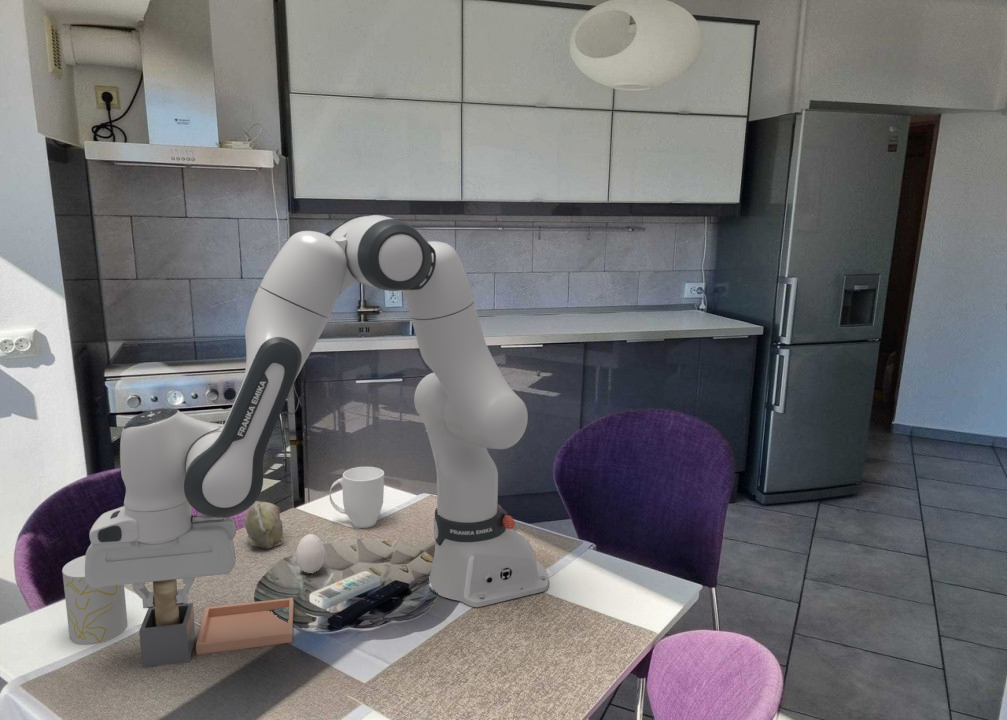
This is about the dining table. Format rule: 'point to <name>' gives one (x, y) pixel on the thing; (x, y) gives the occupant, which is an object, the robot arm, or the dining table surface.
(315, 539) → the egg
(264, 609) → the tray
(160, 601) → the dowel
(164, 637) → the holder
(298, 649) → the dining table surface
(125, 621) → the grey patterned cylinder
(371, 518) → the mug
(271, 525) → the olive grey rounded lump
